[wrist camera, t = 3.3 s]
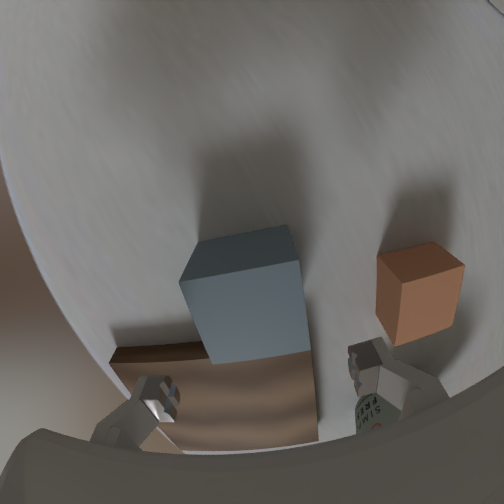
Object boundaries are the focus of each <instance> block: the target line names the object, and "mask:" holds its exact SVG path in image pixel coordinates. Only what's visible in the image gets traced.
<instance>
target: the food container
mask: <svg viewBox="0 0 504 504" xmlns="http://www.w3.org/2000/svg"><path fill="white" fill-rule="evenodd" d="M400 414H401V410H399V409H398V408H397V407H395V406H394V405H392V404H391V403H390V402H388V401H387V400H386V399H384V398H383V397H381V396H380V395H379V394H377V392H375V393H372V394H368V395H364V396H363V397H362V398H361V399H360V400H359V401H358V403H357V405H356V407H355V420H356V434H359V433H362V432H365V431H369V430H372V429H375V428H378V427H381V426H384V425H387V424H390V423H393V422H395V421H398V420H399V417H400Z"/></svg>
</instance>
